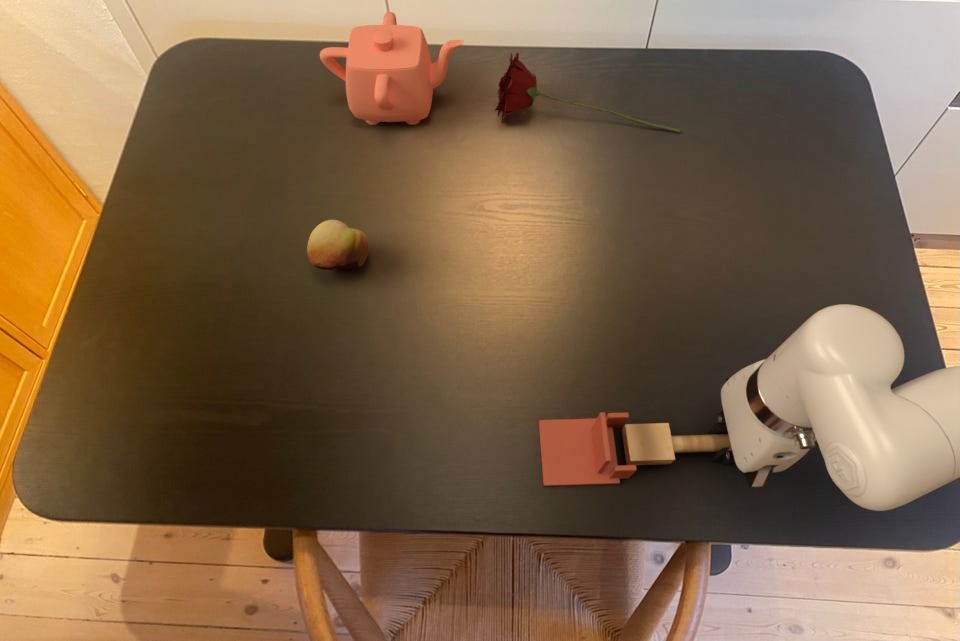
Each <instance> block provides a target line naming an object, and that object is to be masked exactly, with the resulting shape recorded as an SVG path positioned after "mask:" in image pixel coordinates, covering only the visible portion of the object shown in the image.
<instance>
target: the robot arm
mask: <svg viewBox="0 0 960 641" xmlns="http://www.w3.org/2000/svg"><path fill="white" fill-rule="evenodd" d="M904 364H905V349H904V344H903V341H902V338H901V336H900V335H899V333H898V332H897V330H896V329H895V328H894V326H893V325H892V324H891V323H890V322H889V321H888V320H887V319H886V318H884V316H882V315H880V314H879V313H878V312H876V311H874V310H872V309H870V308H866V307H864V306H860V305H856V304H850V303H849V304H848V303H846V304H845V303H843V304H842V303H841V304H834V305H829V306H826V307H824V308H822V309H819V310H818V311H816V312H814V313H813V314H812V315H811V316H810V317H809V318H808V319H806V320H805V321H804V322H803V323H802V324H801V325H800V326H799V327H798V328H797V329H796V330H795V331H794V332H793V333H792V334H791V335H790V336H789V337H787V339H785V340H784V341H783V342H782V343H781V345H779V347H777V348H776V349H775V350H774V351H773V352H772V353H770V355H769V356H768V357H767V358H764V359H761V360H758V361H756V362H754V363H751V364H749V365H747V366H745V367H743V368H741V369H740V370H737V372H735V373H734V374H733V375H732V376H731V377H727V378H726V379H725V382H724V383H723V385H722V387H721V389H720V400H721V406H722V411H720V412H719V413H718V414H717V422H716V423H714V425H713V426H712V427H711V428H709V430H708V431H707V432H706V435H712V434H729V438H730V443H731V447H725V448H722V449H720V450H719V451H718V452H715V453H714V454H713V455H712V456H711V460H712V462H713V463H722V465H723V466H725V467H732V466H736V467H737V469H738V470H739V471H741V472H742V473H743V475H744V478H745V480H746V483H747V484H748V486H749V488H763V487H764V485H765V483H766V482H767V479H768V476H769V475H770V472H771V473H780V472H783V471H785V470H788V469H789V468H790V467H792V466H793V465H794V464H796V463H797V462H798V461H799V460H801V459H802V458H803V457H805V455H806V454H807V453H808V452H809V451H810V450H811V449H814V448H816V442H817V445H818V448H819V450H820V453H821V455H822V458H823V460H824V464H825V468H826V471H827V472H828V475H829V476H830V478H831V480H832V482H834V485H836V487H838V489H839V490H840V491H841V492H842V494H844V495H845V496H846V497H847V499H849V500H850V501H851V502H853V504H855V505H857V506H859V507H861V508H863V509H866V510H870V511H876V512H884V511H890V510H895V509H896V508H899V507H901V506H905V505H907V504H908V503H910V502H913V501H915V500H918V499H919V498H921V497H923V496H925V495H927V494H929V493H932V492H933V491H935V490H937V489H940V488H942V487H943V486H945V485H947V484H949V483H951V482H953V481H955V480H958V479H960V365H955V366H949V367H944V368H940V369H936V370H933V371H931V372H928V373H925V374H923V375H921V376H918V377H916V378H914V379H911V380H909V381H906V382H904V383H902V384H900V385H898V386H896V387H894V388H891V387H892V384H893V383H894V382H895V381H896V380H897V379H898V377H899V376H900V374H901V373H902V370H903V367H904Z"/></svg>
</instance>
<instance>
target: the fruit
mask: <svg viewBox="0 0 960 641" xmlns="http://www.w3.org/2000/svg"><path fill="white" fill-rule="evenodd" d="M308 237H309V238H308V241H307V246H306V253H307V258H308V260H309V263H310V265H312V266H313V267H314V268H316V269H319V270H325V271H326V270H327V271H332V270H340V271H343V272H349V271H352V270H354V269H358V268H360V267H362V266H363V265H364V263H365V261H366V260H367V257H368V254H369V241H368V237H367V235H366V234H365V233H364V232H363V231H362V230H360V229H357V228H352V227H348V225H347V224H346V223H344V222H342V221H341V220H337V219H327V220H325V221H322V222H321V223H319V224H318V225H316V226H315V228H314V229H312V231H311V233H310V234H309V236H308Z"/></svg>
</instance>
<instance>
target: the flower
mask: <svg viewBox="0 0 960 641" xmlns="http://www.w3.org/2000/svg"><path fill="white" fill-rule="evenodd" d="M519 56H520V53H519V51H517V52H516V53H515V55H514V57H513V52H510V56H509V65H508V67H507V68H506V71H505V72H504V74H503V76H501V77H500V79H499V81H498V90H497V95H498V96H497V97H498V103H497V106H496V107H495V109H494V112H496V111H497V117H498V118H500V114H501V120H500V123H501V124H503V123H504V117H506V116H508V115H511V114H513V113H515V112H518V111H520V110H523V109H526V110H525V111H524V112H523V113H522V115H524V114H526V113H527V112H528V111H529V109H530V108H531V107H532V105H533V103H534V102H535V100H536V97H538V96H539V97H540V96H541V97H544V98H548V99H551V100H555V101H559V102H562V103H566V104H571V105H575V106H579V107H584V108H588V109H591V110H592V109H593V110H598V111H602V112H606V113H609V114H613V115H616V116H618V117H622V118H624V119H627V120H629V121H632V122H636V123H640V124H642V125H646V126H649V127H654V128H657V129H662V130H665V131H670V132H674V133H681V130H682V129H678V128H674V127H670V126H666V125H661V124H658V123H652V122H649V121H645V120H641V119H638V118H635V117H632V116H629V115H626V114H623V113H620V112H618V111H614V110H610V109H607V108H603V107H598V106H594V105H589V104H584V103H580V102H576V101H571V100H567V99H564V98H562V97H561V98H560V97H557V96H553V95H549V94H545V93H542V92H540V91H538V84H537V82H538V80H537V77H536V74H535V73H533V72H532V71H531V70H529V69H528V68H527V66H526V65H525V64H524V63H523V62H522V61H521V60H520V59H519Z"/></svg>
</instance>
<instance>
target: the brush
mask: <svg viewBox="0 0 960 641" xmlns="http://www.w3.org/2000/svg"><path fill="white" fill-rule="evenodd" d="M670 427H671V426H670V423H669V422H656V423H653V422H652V423H624V425H623V426H622V428H621V434H622V443H623V448H624V449H623V450H624V456H625V463H626V464H625V465H636V466H654V465H655V466H656V465H657V466H658V465H671V464H672V463H673V462H674V461H676V454H681V453H682V454H683V453H684V454H686V453H714V452H715V453H716V452H718V451H719V450H720V449H722V448H725V447H731V443H730V438H729V434H712V435H707V434H690V435H689V434H686V435H685V434H683V435H681V434H679V435H672V433H671V428H670Z"/></svg>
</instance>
